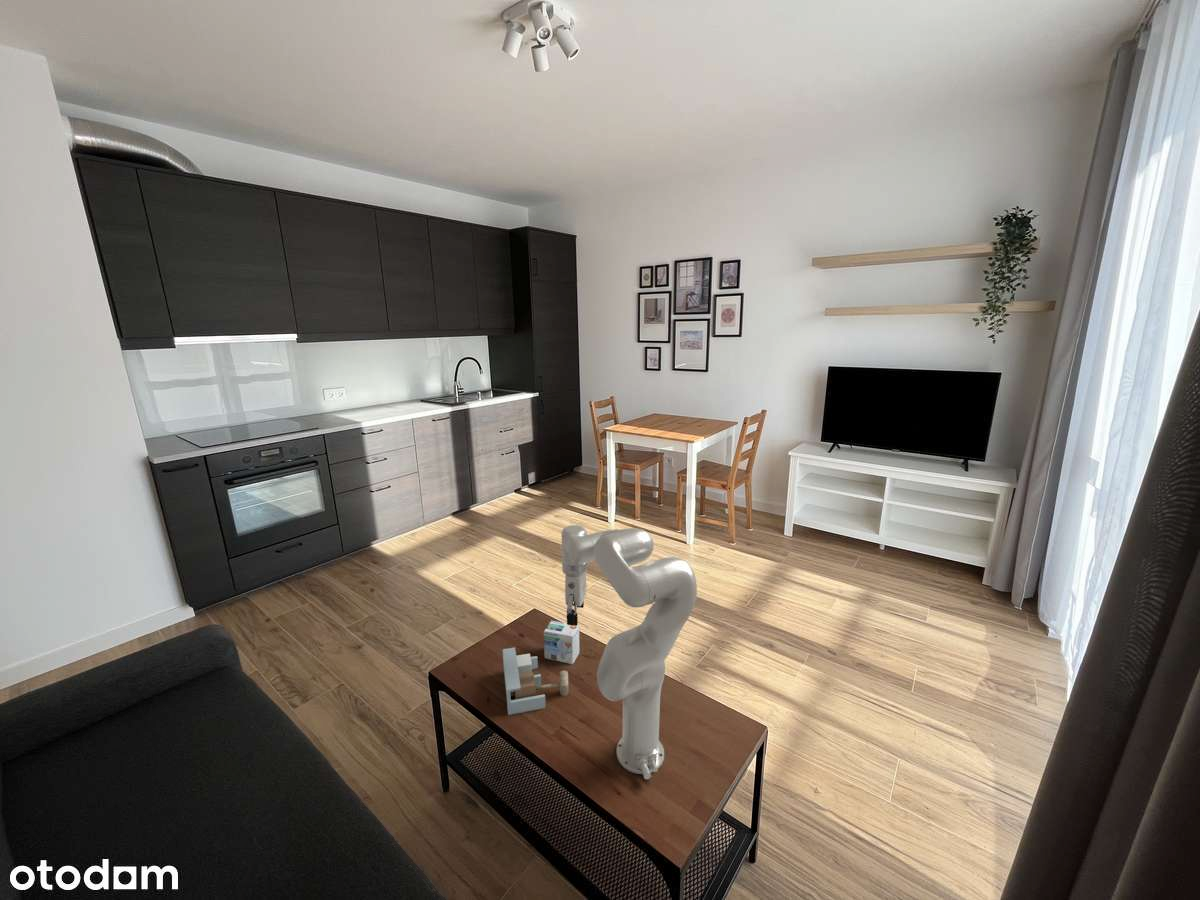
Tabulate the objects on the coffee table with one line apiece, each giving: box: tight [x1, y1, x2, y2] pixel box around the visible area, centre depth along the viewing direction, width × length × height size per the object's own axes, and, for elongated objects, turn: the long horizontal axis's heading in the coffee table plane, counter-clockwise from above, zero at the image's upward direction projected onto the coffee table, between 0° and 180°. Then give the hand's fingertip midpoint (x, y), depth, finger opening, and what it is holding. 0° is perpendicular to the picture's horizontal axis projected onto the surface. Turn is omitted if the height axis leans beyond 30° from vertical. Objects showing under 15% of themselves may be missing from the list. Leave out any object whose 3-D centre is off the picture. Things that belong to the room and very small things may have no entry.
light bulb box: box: [543, 620, 580, 665], centre depth 170 cm, size 11×7×11 cm, turn 73°
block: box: [516, 653, 533, 675], centre depth 159 cm, size 6×6×7 cm
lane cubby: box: [502, 647, 547, 716], centre depth 154 cm, size 19×11×9 cm, turn 14°
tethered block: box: [513, 670, 569, 700], centre depth 151 cm, size 6×16×7 cm, turn 104°
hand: (575, 615), depth 155 cm, fingers open, 9 cm apart
